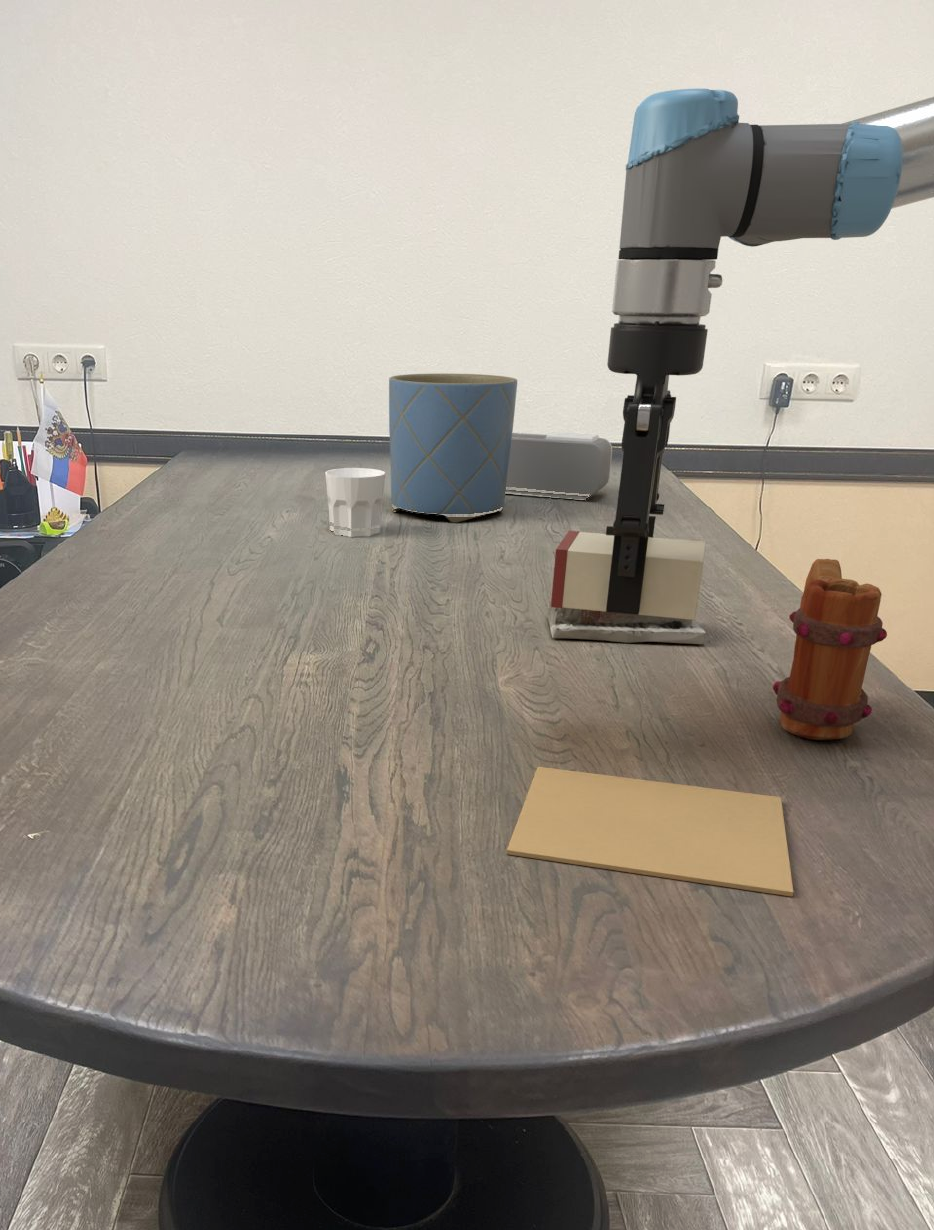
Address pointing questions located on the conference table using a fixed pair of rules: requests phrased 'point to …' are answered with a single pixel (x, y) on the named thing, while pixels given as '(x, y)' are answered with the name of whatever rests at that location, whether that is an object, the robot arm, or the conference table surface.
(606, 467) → the grey rounded block
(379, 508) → the cup
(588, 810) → the cork mat
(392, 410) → the planter
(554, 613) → the grey boxy piece
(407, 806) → the conference table surface
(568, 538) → the red-capped cream block
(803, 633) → the mug
